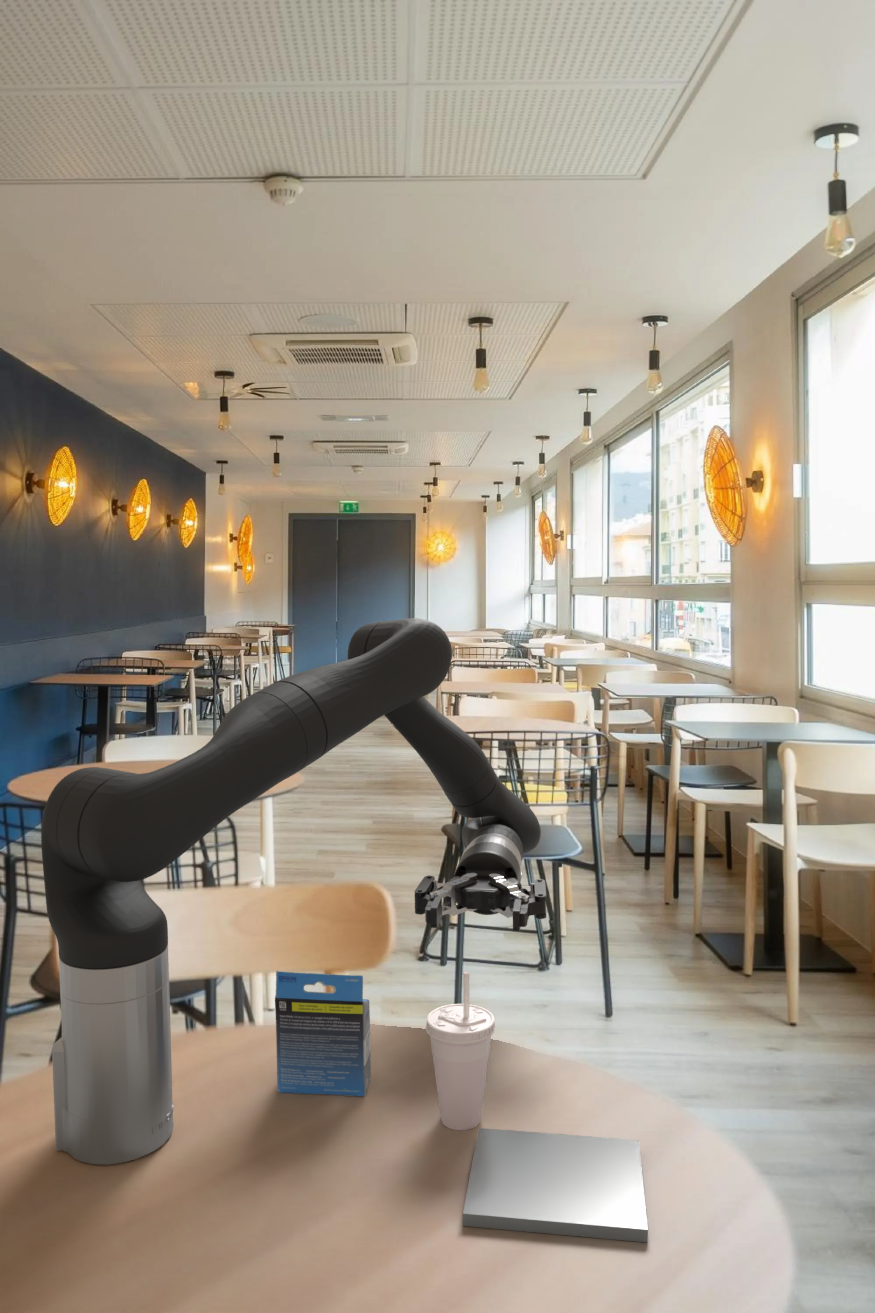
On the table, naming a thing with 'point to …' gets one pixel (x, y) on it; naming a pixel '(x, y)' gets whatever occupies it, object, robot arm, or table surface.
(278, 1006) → the label tape box
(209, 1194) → the table surface
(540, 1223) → the metal board
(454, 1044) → the smoothie
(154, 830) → the robot arm
